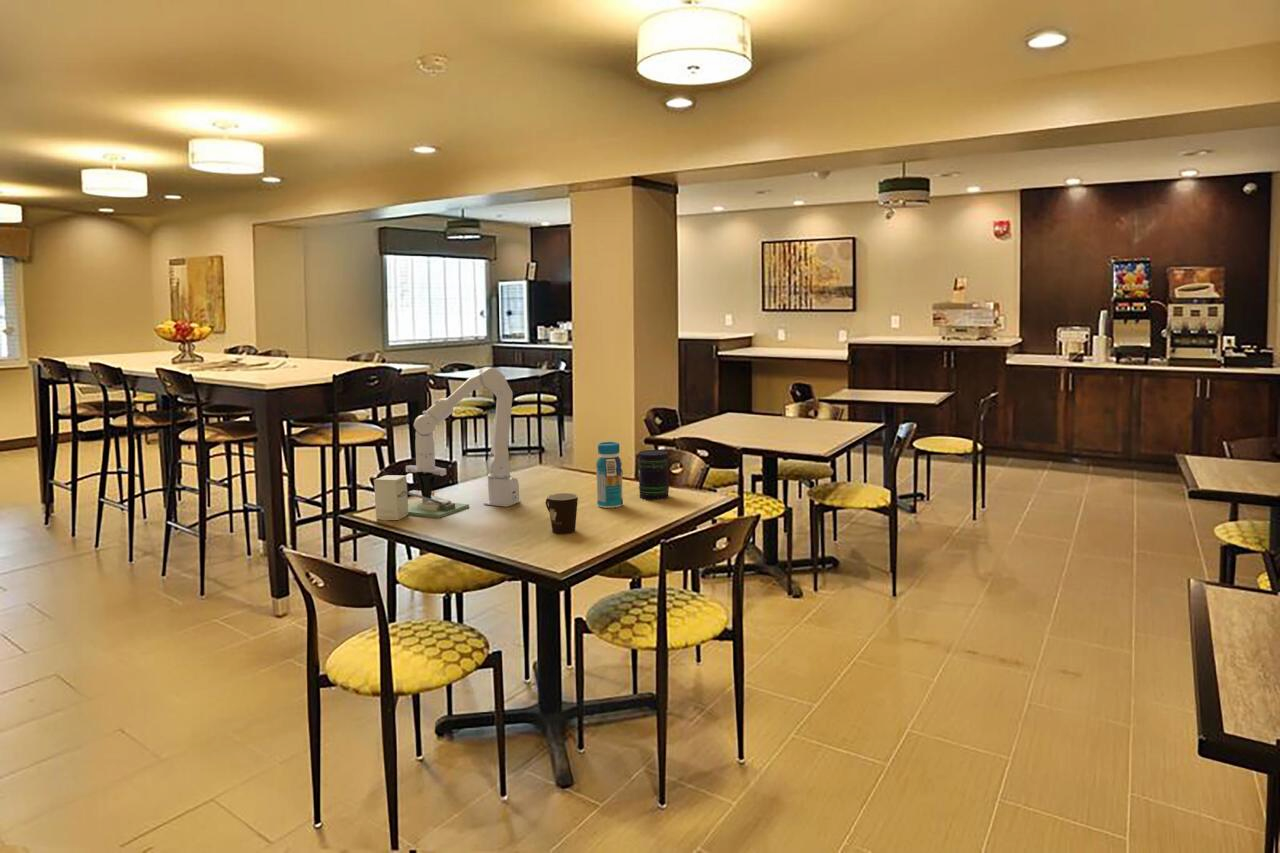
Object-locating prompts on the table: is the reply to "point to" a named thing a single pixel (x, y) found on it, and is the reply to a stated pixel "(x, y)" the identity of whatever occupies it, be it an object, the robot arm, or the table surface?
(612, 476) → the beverage bottle
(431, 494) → the lug
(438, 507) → the board
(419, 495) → the grey flat bar
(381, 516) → the supplement box
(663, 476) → the storage jar
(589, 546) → the table surface
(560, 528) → the coffee mug
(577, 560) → the table surface
